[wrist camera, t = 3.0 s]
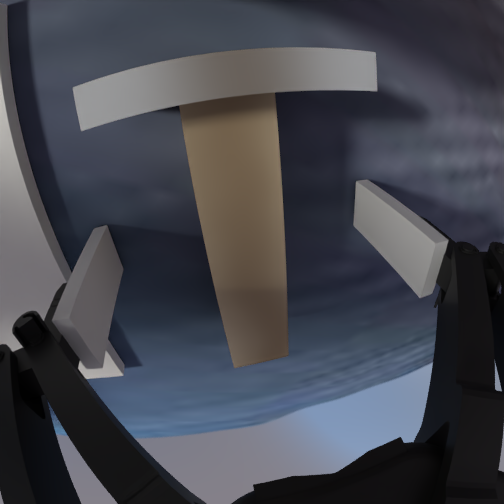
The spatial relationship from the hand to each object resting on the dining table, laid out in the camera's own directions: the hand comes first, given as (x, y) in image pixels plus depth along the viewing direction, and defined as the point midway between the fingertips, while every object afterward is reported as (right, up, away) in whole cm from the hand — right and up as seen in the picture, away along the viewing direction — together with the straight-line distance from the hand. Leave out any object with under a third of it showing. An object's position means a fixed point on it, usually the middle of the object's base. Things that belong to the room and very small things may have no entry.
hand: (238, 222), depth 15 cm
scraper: (0, 0, 0) cm, 0 cm away
